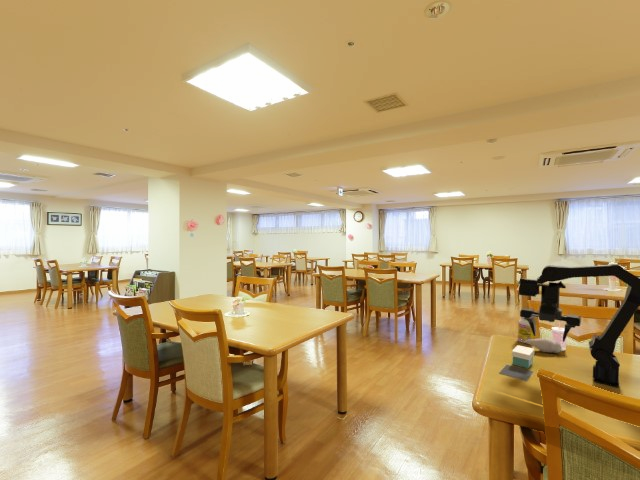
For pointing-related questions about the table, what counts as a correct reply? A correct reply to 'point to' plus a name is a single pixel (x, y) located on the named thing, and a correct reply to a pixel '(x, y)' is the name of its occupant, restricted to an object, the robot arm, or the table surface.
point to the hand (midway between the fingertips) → (548, 338)
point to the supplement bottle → (524, 330)
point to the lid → (523, 352)
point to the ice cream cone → (545, 345)
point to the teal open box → (522, 362)
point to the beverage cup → (559, 336)
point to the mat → (516, 372)
